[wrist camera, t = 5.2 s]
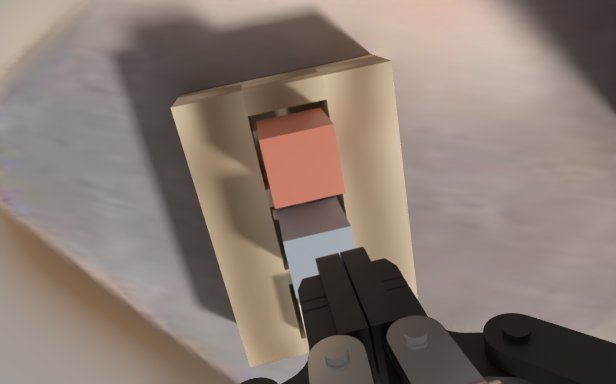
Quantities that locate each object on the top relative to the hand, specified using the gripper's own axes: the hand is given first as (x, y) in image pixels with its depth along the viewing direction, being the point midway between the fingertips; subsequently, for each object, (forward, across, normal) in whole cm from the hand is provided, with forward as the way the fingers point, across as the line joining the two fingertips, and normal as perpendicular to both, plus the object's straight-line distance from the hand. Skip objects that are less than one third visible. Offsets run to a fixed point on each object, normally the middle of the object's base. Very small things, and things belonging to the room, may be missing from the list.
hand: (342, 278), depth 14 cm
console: (+17, 0, +5) cm, 18 cm away
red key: (+13, 0, 0) cm, 13 cm away
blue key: (+13, 0, +5) cm, 14 cm away
